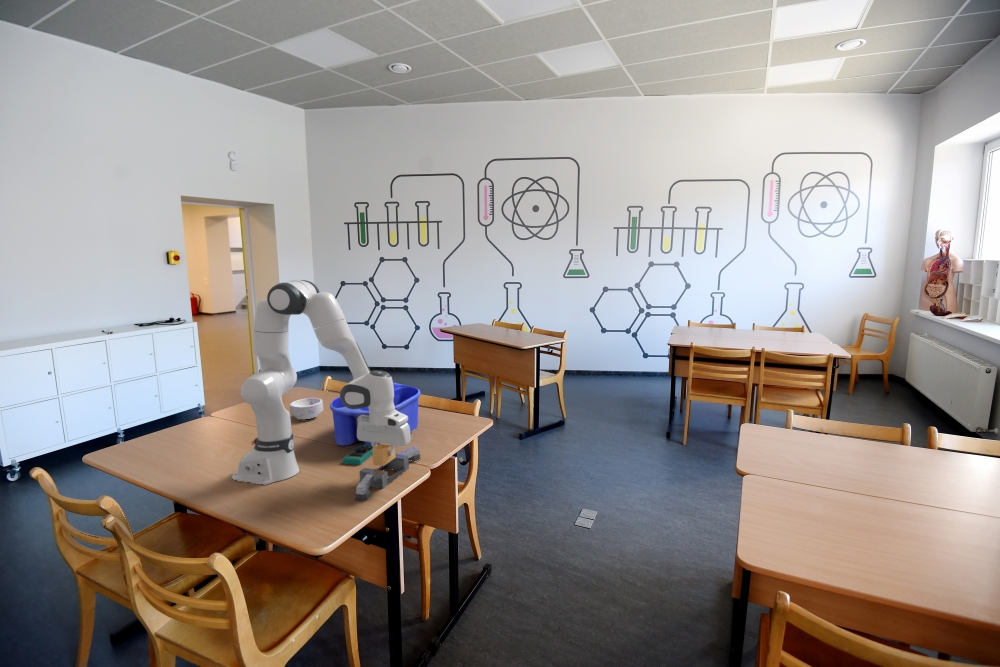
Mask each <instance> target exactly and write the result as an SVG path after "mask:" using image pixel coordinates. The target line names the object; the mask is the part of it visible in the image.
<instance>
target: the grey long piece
mask: <svg viewBox="0 0 1000 667" xmlns="http://www.w3.org/2000/svg"><path fill="white" fill-rule="evenodd" d="M419 459H420V460H421V453H420V446H416V445H413V446H411V447H409V448H407V449H404V450H402V451H401V452H398V453H396V458H394V459H393V460H391V461H390V462H388V463H387V464H386V465H384V466H380V467H378V468H377V469H375V468H367V467H363V468H362V469H360V470H359V483H358V485H357V486H356V487H355V488H356V489H355V490H356V492H355V493H354V499H355V500H354V501H366V500H367V501H368V500H369V499H370V498H371V489H369V488H375V487H377V488H376V489H381V488H382V489H381V490H383V489H384V487H385V486H386V487H387V486H389V485H390V484H391V483H392V482H394V481H395V480H396V479H398V478H399V477H400V476H401V475H403V474H404V473H405V472H407V471H408V470H409V469H410V464H409V462H410V461H409V460H412V461H417V460H419ZM420 460H419V461H420ZM412 461H411V462H412ZM417 462H418V461H417ZM408 468H409V469H408ZM384 469H385V470H384ZM388 469H393V470H392V471H395V470H398V471H395V473H393V474H392V475H390V476H389V477H388V471H387V470H388ZM407 469H408V470H407ZM383 470H384V471H383ZM406 470H407V471H406ZM403 472H404V473H403ZM402 473H403V474H402ZM399 475H400V476H399ZM398 476H399V477H398ZM397 477H398V478H397ZM394 479H395V480H394ZM393 480H394V481H393ZM389 483H390V484H389ZM370 486H371V487H370ZM386 487H385V488H386ZM369 497H370V498H369Z"/></svg>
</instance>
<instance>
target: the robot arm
mask: <svg viewBox="0 0 1000 667" xmlns="http://www.w3.org/2000/svg"><path fill="white" fill-rule="evenodd" d="M302 314H304V315H305V316H307V317H308V319H309V321H310V324H311V326H312V329H313V331H314V334H315V337H316V338H317V340H318V342H319V343H320V345H321V346H322V347H324V348H325V349H327V350H329V351H330V350H331V351H334V352H336V353H339V354H340V355H341V356H342V357H343V358H344V359H345V360H344V361H345V363H346V365H347V366H348V368H349V370H350V373H351V375H352V380H351V381H349V382H348V383H346V384H345V385H344V386H343V387H342V388H341V389H340V392H339V397H340V399H341V402H342V403H343V405H344V406H345V407H347V408H349V409H360V408H365V407H368V408H369V415H361V416H359V417H358V419H357V421H358V426H357V438H358V440H357V441H361V442H365V441H367V442H371V445H372V447H373V448H374V447H375V446H377V443H382V444H390V447H391V449H390V450H389V451H388V456H393V455H394V449H395V450H396V448H397V446H399V447H406V446H407V445H409V444H410V443H411V441H412V437H411V436H412V435H411V434H412V433H411V434H410V427H409V425H408V423H406V422H407V421H408V416H407V415H405V414H402V413H400V412H398V411H397V410H395V406H394V403H393V399H394V387H393V383H394V381H393V378H392V376H391V374H390V373H388V372H387V371H384V370H380V369H379V370H371V368H370V367H369V365H368V363H367V361H366V359H365V356H364V355H363V352H362V350H361V348H360V346H359V344H358V343H357V341H356V338H355V337H354V335H353V333H352V331H351V329H350V326H349V325H348V321H347V319H346V316H345V314H344V311H343V309H342V308H341V305H340V304H339V301H338V300H337V298H336V297H335V295H333V294H332V293H331V292H327V291H321V292H320V289H319V288H318V286H317V285H316V284H315V283H314V282H312V281H309V280H304V279H301V280H300V279H297V280H296V279H295V280H289V281H286V282H280V283H279V282H278V283H277V284H275V285H273V286H272V287H271V288H270V289H269V291H268V292H267V296H266V298H263V299H261V300H259V302H258V303H257V304H256V307H255V313H254V319H253V353H254V354H255V356H257V358H258V360H259V364H260V371H258V372H256V373H254V374H252V375H250V376H249V377H248V378H247V379H246V380H245V381H244V382H243V383H242V385H241V388H240V394H241V397H242V399H243V400H244V402H246V403H247V404H248V405H250V407H251V409H252V411H253V414H254V417H255V422H256V423H255V424H256V432H257V437H256V438H254V440H252V441H251V442H250V443H251V446H254V447H253V448H252V449H251V450H250V451H249V452H247V453H246V454H245V455H244V456H242V457H241V459H240V460H239V462H238V468H237V470H235V472H234V473H233V474H231V480H232V479H233V480H239V481H238V482H240V481H245V482H244V483H247V482H251V483H250V484H254V483H256V484H255V485H261V484H263V486H265V485H270V484H271V483H274V482H275V483H276V482H279V481H284V480H287V479H289V478H291V477H294V476H296V475H297V474H298V473H299V472H300V467H299V464H298V462H297V459H296V455H295V449H294V448H295V442H294V441H295V440H294V434H293V432H292V422H291V420H292V419H291V414H290V411H289V410H288V409H286V407H285V406H284V402H283V398H282V397H283V396H284V395H285V394H287V393H289V392H290V390H292V388H294V386H295V385H296V383H297V380H298V375H297V372H296V370H295V368H293V366H292V363H291V359H290V358H291V357H290V354H289V353H290V352H289V323H290V322H289V320H290V317H291V315H293V316H294V315H295V316H296V315H302ZM233 480H232V481H233Z"/></svg>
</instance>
